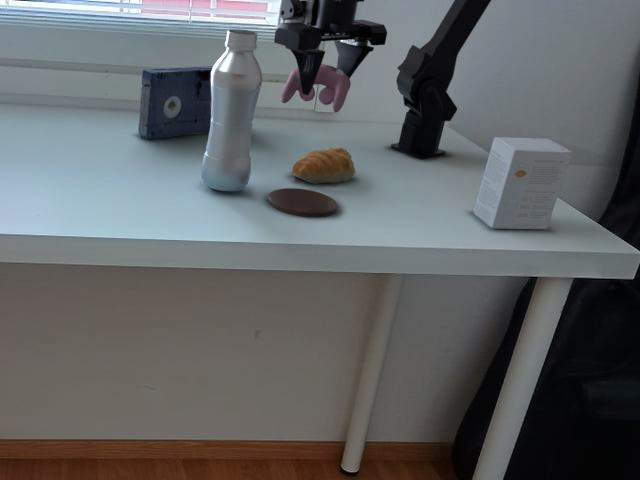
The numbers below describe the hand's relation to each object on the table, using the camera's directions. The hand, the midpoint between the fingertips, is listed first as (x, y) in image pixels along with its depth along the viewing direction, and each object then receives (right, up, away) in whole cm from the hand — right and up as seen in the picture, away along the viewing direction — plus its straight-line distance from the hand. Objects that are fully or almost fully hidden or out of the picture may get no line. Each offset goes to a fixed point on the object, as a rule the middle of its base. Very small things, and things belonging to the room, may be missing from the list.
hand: (321, 92), depth 131 cm
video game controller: (-1, -2, +1) cm, 2 cm away
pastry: (-2, -15, -9) cm, 18 cm away
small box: (+21, -23, -19) cm, 37 cm away
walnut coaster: (-6, -21, -20) cm, 30 cm away
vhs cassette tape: (-20, -5, +5) cm, 22 cm away
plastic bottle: (-17, -18, -17) cm, 30 cm away
